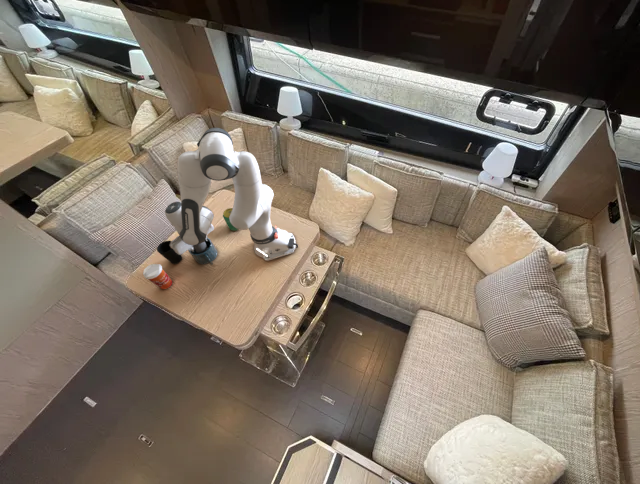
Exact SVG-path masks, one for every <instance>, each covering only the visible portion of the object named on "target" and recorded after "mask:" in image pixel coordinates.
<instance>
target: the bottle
mask: <svg viewBox="0 0 640 484" xmlns="http://www.w3.org/2000/svg"><path fill="white" fill-rule="evenodd" d="M192 247H193V248H195V251H196V252H197V254H201V253H203V252H205V251H207V250H208V249H209V248H208V246H207V245H206V243H205V242H203V243H201V244H198V245H193V246H192Z"/></svg>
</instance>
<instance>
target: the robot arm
mask: <svg viewBox="0 0 640 484" xmlns="http://www.w3.org/2000/svg"><path fill="white" fill-rule="evenodd" d="M196 146H197V149H196V150H187V151H184V152H182V153H181V154H180V155H179V156H178V158H177V163H176V167H177V168H176V174H177V180H178V187H179V194H180V201H174V202H171V203H169V204H168V205H167V206H166V208H165V210H164V215H165V217H166V219H167V221H168V222H169V223H170V225H171V226H172V227H173V228H174V230H175V231H176V233H177V234H178V235H177V236H176V237H175V238H174V239H172V240H170V241H171V243H170V247H171V248H172V249H173V250H174V251H175V252H176V253H177V254H179V255H181V256H182V255H183V254H184V253H186V252H187V251H188V250H191V251H192V252H194V251H195V248H193V247H192V246H193V245H198V244H201V243H203V242H207V241H208V240H207V238H208V235H209V234H210V233H211V232H213V231H214V230H215V226H214V225H213V224H212V222H213V220H214V217H215V214H214V212H213V210H211V208H209V207H207V206H206V205H204V204H205V202H206V200H207V198H208V196H209V195H210V190H211V187H212V181H216V182H221V181H227V180H230V179H231V180H232V183H233V189H234V199H233V205H232V208H233V209H232V212H231V214H230V216H229V219H230V222H231V224H232V225H233V226H234V227H235V228H237V229H239V230H240V231H246V230H248V231H249V234H250V238H251V240H252V242H253V250H254V253H255V254H256V255H257V256H258V257H260V258H262V259H263V260H264V261H266V262H268V261H269V262H270V261H272V260H275V259H278V258H282V257H285V256H288V255H291V254H293V253H294V252H295V250H296V249H298V248H299V244H298V243H296V238H295V236H294V234H293V233H292V232H288V231H287V230H285V229H282V228H281V229H280V228H279V227H278V226H277V225H275V226H273V225H272V220H271V209H272V203H273V199H274V196H275V194H274V191H273V189H272V188H271V187H270V186H268V184H265V183H263V181H262V176H261V170H260V166H259V164H258V160H257V159H256V157H255V156H254V155H253V154H252V153H251V152H249V151H244V150H241V151H236V150H234V142H233V139H232V136H231V134H230V133H229V132H228V131H226V130H225V129H223V128H220V127H211V128H208V129H206V130H205V131H204V133H203V134H202V135H201V137H200V139H199V140H198V141H197V143H196Z"/></svg>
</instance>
